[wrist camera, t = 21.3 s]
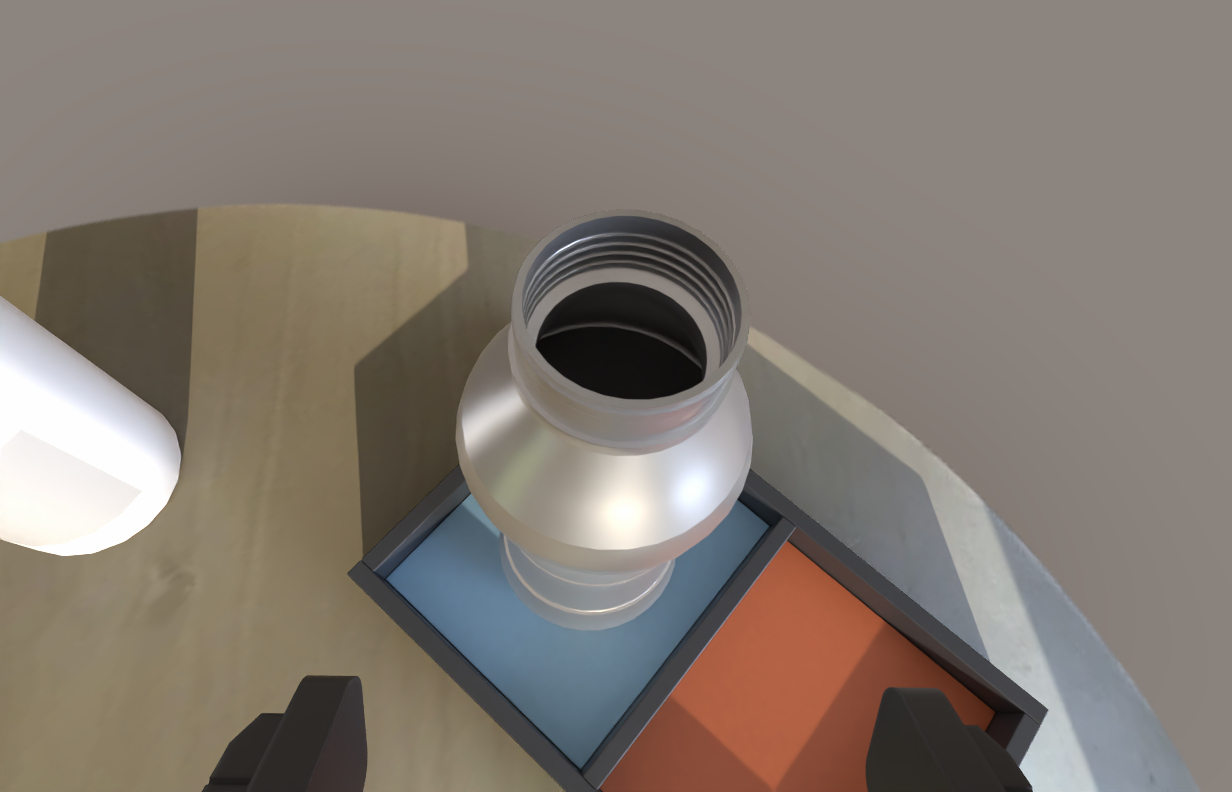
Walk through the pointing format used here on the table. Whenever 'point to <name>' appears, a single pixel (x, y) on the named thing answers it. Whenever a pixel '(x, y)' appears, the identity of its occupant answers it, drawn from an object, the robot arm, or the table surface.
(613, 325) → the silver metal bottle
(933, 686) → the sorter
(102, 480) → the white bottle
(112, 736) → the table surface
